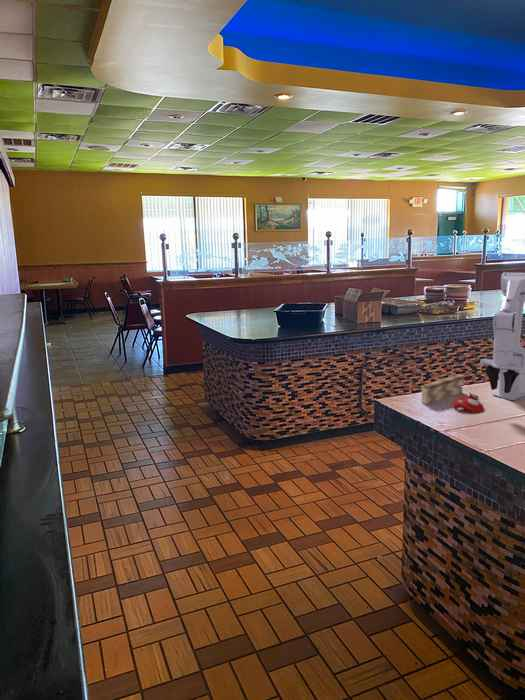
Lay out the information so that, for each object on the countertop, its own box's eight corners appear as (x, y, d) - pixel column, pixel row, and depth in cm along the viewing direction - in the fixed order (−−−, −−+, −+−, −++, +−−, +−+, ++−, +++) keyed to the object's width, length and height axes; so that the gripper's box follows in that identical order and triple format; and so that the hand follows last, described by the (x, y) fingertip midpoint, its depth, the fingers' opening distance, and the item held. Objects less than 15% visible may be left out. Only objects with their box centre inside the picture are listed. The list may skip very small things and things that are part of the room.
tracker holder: (489, 410, 175) (459, 404, 175) (484, 421, 177) (454, 415, 177) (479, 391, 186) (451, 385, 186) (475, 401, 188) (447, 395, 188)
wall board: (457, 391, 198) (458, 373, 196) (464, 393, 196) (464, 375, 194) (421, 402, 187) (422, 384, 186) (428, 404, 185) (428, 386, 183)
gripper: (475, 347, 171) (473, 388, 174) (517, 356, 159) (514, 398, 163) (488, 344, 175) (486, 383, 178) (530, 352, 163) (527, 394, 166)
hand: (500, 390), depth 171 cm, fingers open, 4 cm apart
